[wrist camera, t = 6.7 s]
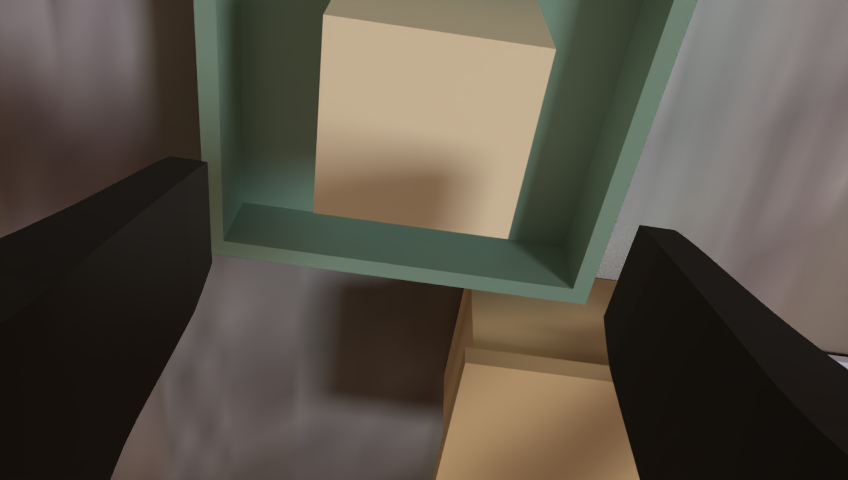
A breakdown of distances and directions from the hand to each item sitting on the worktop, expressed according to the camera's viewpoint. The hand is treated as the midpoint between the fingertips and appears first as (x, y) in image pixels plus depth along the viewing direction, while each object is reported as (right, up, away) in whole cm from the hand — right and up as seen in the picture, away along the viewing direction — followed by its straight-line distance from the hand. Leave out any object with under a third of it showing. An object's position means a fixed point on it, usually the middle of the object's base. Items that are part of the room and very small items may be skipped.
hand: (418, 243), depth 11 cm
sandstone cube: (0, +5, +6) cm, 8 cm away
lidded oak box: (+5, -3, +12) cm, 14 cm away
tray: (0, +5, +7) cm, 8 cm away
